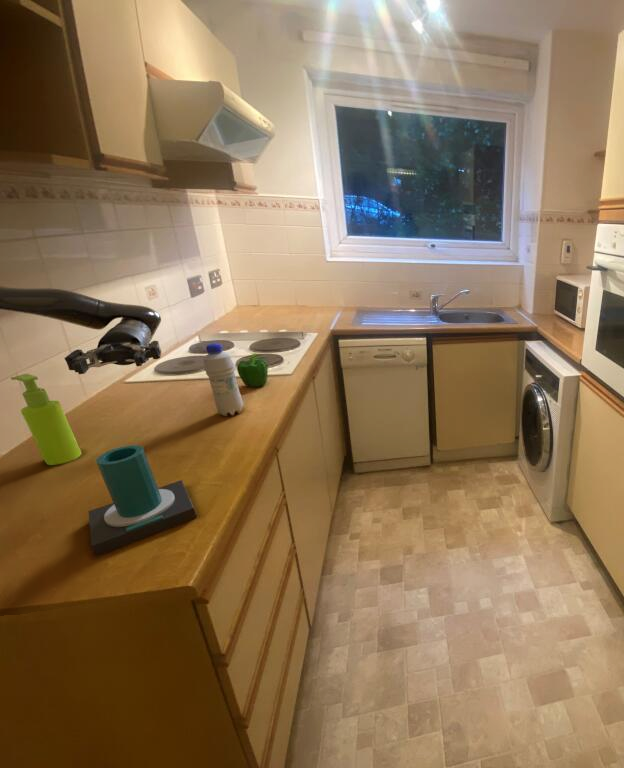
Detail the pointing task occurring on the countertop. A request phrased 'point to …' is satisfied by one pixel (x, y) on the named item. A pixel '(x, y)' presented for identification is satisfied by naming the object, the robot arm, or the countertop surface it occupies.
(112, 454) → the jar
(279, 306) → the countertop surface
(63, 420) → the soap dispenser
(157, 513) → the scale
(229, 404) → the bottle
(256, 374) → the bell pepper
